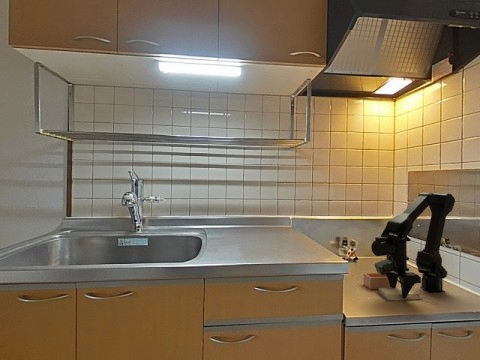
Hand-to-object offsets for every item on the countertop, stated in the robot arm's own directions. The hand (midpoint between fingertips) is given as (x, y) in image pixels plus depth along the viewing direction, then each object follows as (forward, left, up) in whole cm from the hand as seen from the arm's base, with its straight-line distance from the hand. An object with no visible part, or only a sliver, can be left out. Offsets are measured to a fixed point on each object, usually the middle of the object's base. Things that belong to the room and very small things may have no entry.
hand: (398, 294), depth 119 cm
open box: (+2, -11, -1) cm, 11 cm away
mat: (0, 0, -1) cm, 1 cm away
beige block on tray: (0, 0, -1) cm, 1 cm away
